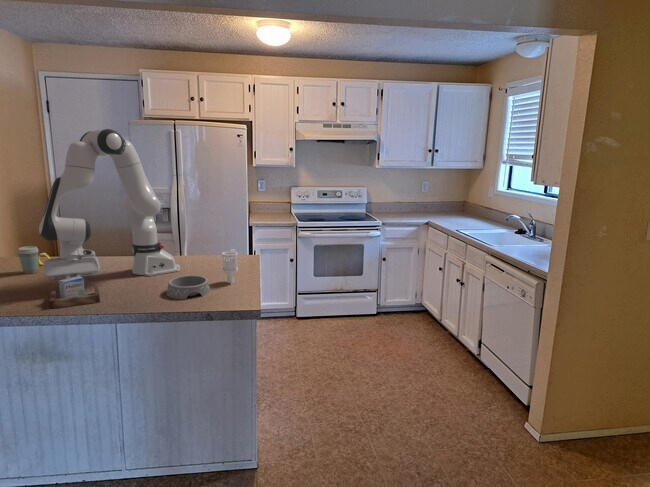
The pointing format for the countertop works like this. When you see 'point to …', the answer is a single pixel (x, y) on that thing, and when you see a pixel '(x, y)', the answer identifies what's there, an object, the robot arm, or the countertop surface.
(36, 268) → the coffee cup
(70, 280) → the medicine box
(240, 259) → the countertop surface
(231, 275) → the white stemmed cylinder
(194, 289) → the dog bowl
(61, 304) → the brown u-shaped frame
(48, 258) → the watch
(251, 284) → the countertop surface
